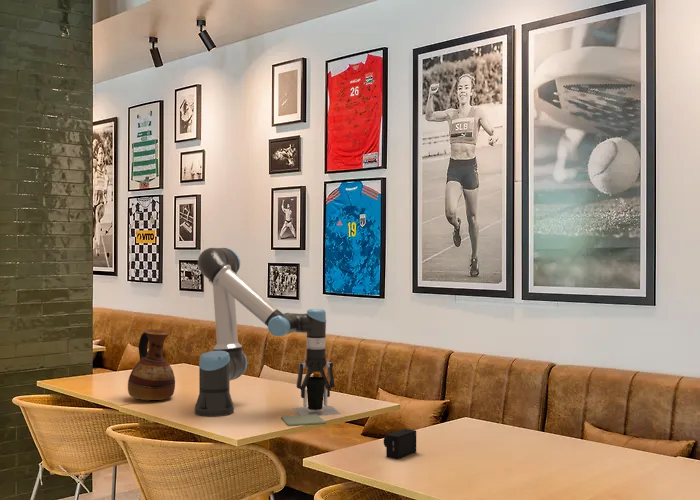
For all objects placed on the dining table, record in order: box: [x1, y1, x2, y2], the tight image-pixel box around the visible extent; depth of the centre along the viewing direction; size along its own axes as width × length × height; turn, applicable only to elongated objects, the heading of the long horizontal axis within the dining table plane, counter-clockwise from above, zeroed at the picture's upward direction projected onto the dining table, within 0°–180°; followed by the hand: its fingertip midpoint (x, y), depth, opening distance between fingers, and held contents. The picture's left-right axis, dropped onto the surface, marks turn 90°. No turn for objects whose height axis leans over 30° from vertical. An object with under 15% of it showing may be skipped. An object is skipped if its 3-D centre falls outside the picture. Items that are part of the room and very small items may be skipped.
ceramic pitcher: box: [127, 328, 176, 401], centre depth 321 cm, size 20×20×30 cm
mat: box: [280, 414, 327, 427], centre depth 279 cm, size 14×14×1 cm
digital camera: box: [383, 428, 417, 460], centre depth 232 cm, size 10×5×7 cm, turn 142°
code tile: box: [292, 405, 342, 416], centre depth 297 cm, size 16×16×1 cm
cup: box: [306, 376, 326, 410], centre depth 297 cm, size 8×8×12 cm
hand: (315, 405), depth 297 cm, fingers closed on cup, 8 cm apart
